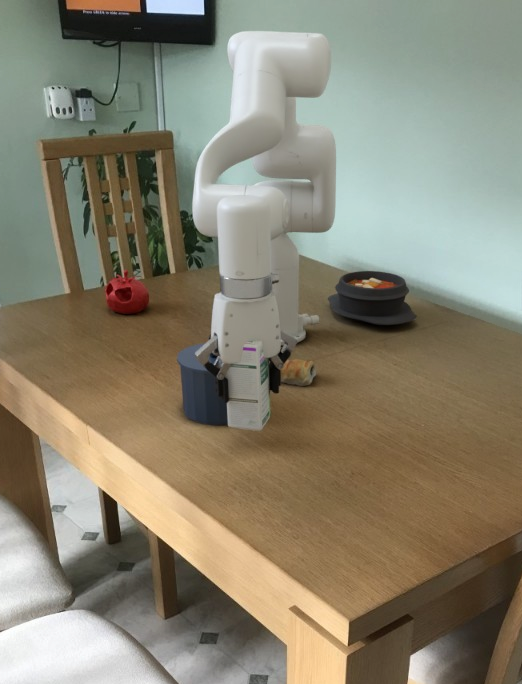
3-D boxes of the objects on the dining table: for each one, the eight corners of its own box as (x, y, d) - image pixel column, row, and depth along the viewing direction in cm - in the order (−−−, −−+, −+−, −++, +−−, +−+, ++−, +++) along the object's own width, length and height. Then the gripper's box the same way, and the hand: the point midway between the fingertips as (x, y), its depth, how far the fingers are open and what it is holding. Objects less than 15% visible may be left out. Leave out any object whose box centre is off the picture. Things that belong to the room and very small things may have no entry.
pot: (238, 390, 151) (236, 341, 146) (265, 417, 142) (265, 365, 136) (174, 402, 146) (170, 351, 141) (198, 430, 137) (195, 377, 132)
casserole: (435, 325, 185) (438, 288, 180) (366, 338, 176) (368, 300, 172) (373, 295, 203) (375, 261, 198) (309, 306, 195) (309, 270, 190)
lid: (238, 343, 147) (237, 318, 144) (269, 369, 137) (268, 343, 134) (166, 354, 141) (164, 329, 139) (193, 382, 131) (191, 355, 129)
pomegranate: (129, 300, 195) (125, 261, 190) (159, 309, 190) (155, 269, 185) (97, 310, 188) (92, 270, 183) (127, 319, 183) (123, 278, 178)
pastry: (262, 382, 154) (261, 363, 152) (271, 369, 160) (271, 351, 158) (310, 387, 153) (310, 368, 151) (317, 374, 159) (318, 355, 157)
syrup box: (262, 431, 129) (260, 344, 121) (226, 427, 130) (222, 340, 122) (271, 416, 134) (270, 331, 126) (236, 412, 135) (233, 328, 127)
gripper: (287, 272, 126) (287, 378, 136) (180, 285, 119) (188, 395, 129) (309, 285, 121) (307, 394, 130) (198, 299, 114) (205, 414, 123)
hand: (248, 394), depth 129 cm, fingers closed on syrup box, 8 cm apart
